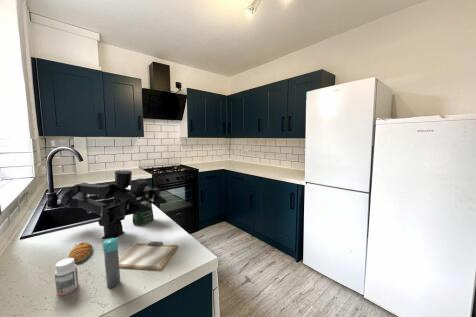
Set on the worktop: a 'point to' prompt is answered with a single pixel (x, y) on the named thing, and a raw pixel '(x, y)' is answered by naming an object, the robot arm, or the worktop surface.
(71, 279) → the pill bottle
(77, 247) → the pastry
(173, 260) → the worktop surface
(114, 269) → the ball
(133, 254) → the clipboard
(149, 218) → the coffee jar
